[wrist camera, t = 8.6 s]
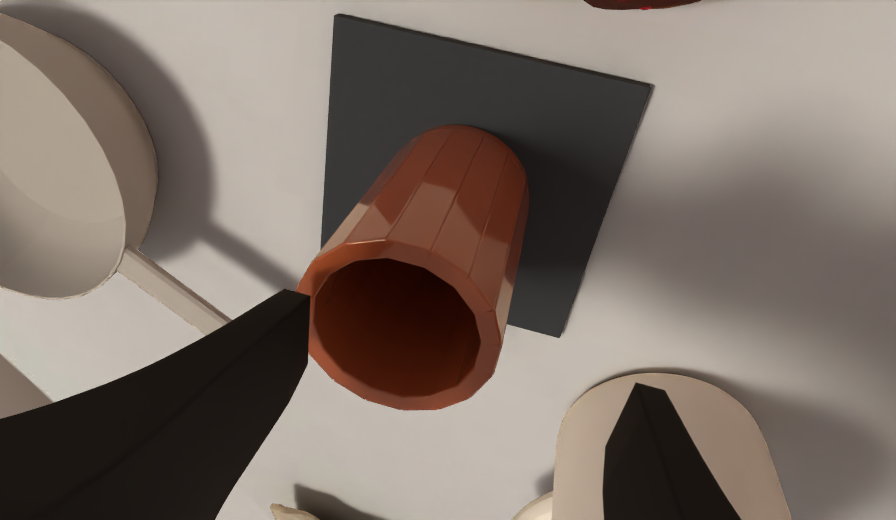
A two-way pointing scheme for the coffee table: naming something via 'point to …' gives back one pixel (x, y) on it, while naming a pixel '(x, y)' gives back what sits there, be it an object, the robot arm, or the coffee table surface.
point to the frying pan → (76, 178)
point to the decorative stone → (290, 513)
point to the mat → (499, 113)
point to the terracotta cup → (422, 273)
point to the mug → (708, 423)
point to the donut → (637, 4)
